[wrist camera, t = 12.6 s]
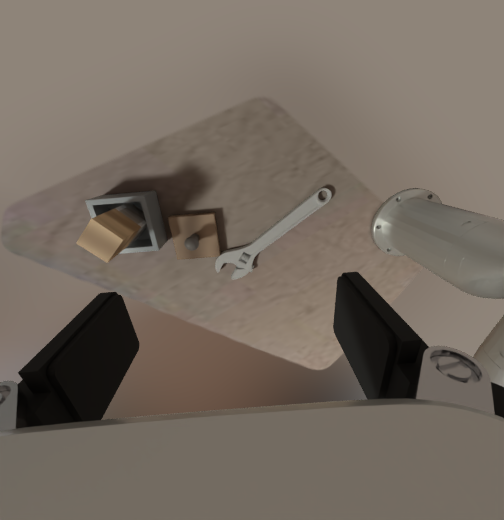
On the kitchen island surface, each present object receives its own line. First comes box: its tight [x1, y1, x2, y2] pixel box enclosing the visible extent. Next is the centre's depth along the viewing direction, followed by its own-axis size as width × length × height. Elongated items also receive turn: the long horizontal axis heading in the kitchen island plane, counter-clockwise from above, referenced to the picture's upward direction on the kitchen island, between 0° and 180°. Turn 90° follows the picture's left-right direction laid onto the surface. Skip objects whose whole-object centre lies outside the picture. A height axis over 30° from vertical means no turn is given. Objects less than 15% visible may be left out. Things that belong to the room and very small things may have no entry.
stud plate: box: [168, 212, 221, 260], centre depth 41 cm, size 8×8×6 cm
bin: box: [85, 191, 168, 254], centre depth 39 cm, size 9×9×5 cm
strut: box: [77, 202, 147, 263], centre depth 36 cm, size 4×4×11 cm
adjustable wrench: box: [215, 188, 332, 279], centre depth 44 cm, size 25×6×2 cm, turn 124°
